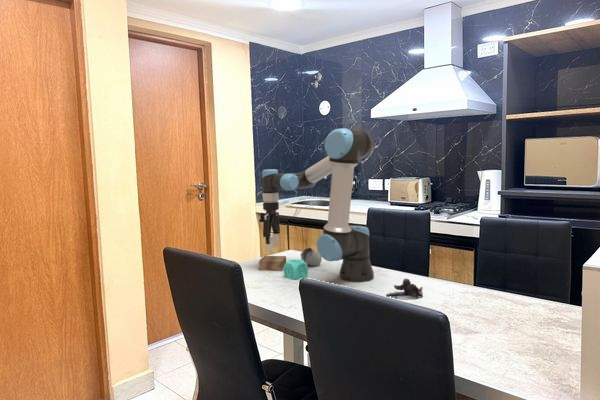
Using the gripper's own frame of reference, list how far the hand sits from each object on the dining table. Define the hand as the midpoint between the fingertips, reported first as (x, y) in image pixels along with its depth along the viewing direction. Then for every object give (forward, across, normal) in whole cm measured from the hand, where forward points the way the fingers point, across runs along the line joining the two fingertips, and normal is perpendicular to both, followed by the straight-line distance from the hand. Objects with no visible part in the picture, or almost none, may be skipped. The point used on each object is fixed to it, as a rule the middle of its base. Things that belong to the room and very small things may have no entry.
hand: (272, 248), depth 207 cm
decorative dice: (+11, +12, +16) cm, 23 cm away
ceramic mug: (+11, -11, +15) cm, 22 cm away
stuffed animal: (+12, +18, +68) cm, 72 cm away
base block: (+11, 0, 0) cm, 11 cm away
